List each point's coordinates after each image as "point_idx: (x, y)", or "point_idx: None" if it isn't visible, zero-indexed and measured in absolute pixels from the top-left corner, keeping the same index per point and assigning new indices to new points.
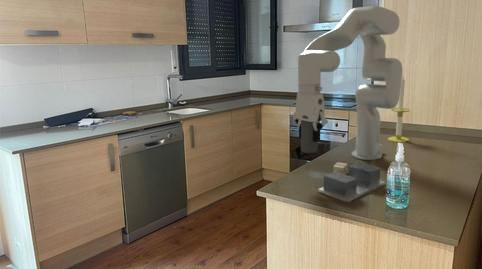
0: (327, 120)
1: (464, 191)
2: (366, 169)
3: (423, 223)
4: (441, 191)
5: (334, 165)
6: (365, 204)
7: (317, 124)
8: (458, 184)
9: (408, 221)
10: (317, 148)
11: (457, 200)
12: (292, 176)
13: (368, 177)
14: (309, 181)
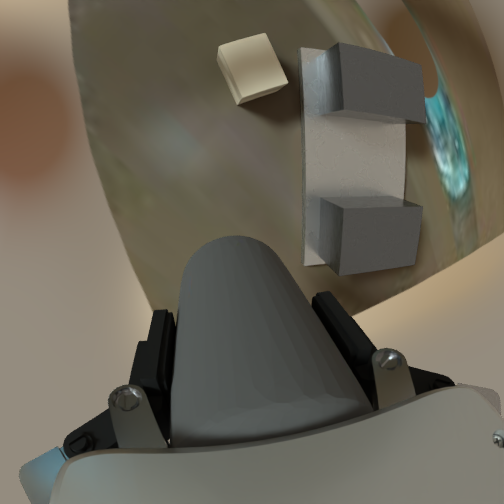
0: (499, 401)
1: (478, 34)
2: (405, 104)
3: (490, 216)
4: (467, 51)
5: (239, 86)
6: (421, 226)
7: (375, 405)
8: (459, 2)
9: (479, 228)
10: (282, 262)
11: (492, 84)
12: (138, 235)
13: (406, 122)
14: (217, 220)
